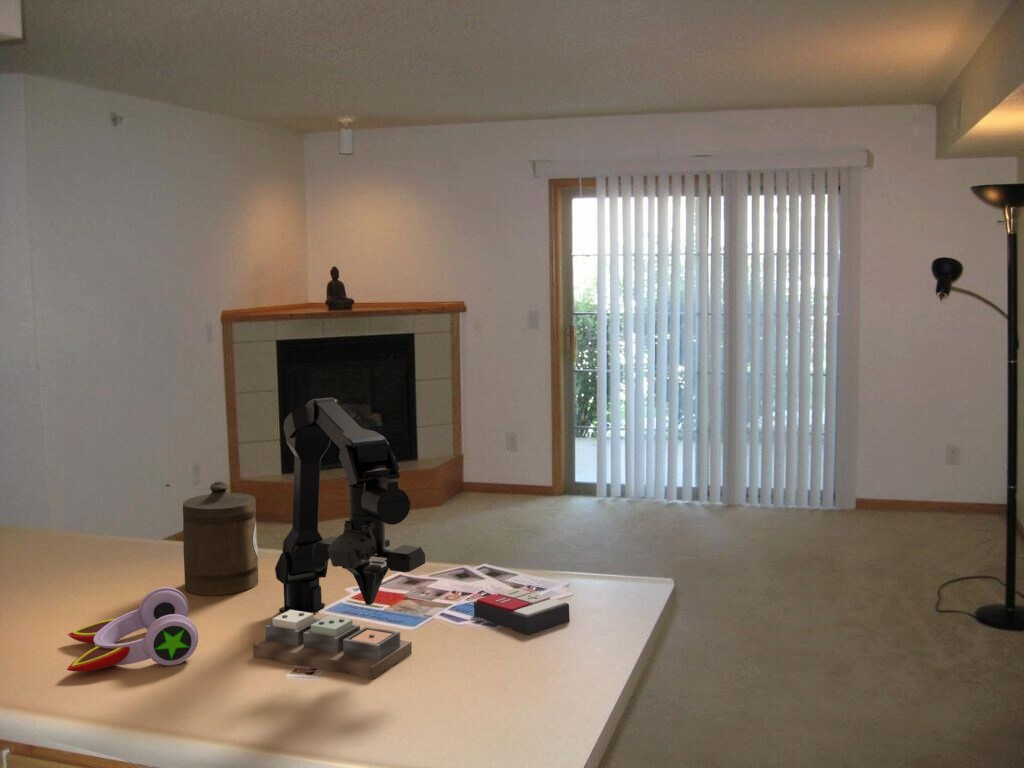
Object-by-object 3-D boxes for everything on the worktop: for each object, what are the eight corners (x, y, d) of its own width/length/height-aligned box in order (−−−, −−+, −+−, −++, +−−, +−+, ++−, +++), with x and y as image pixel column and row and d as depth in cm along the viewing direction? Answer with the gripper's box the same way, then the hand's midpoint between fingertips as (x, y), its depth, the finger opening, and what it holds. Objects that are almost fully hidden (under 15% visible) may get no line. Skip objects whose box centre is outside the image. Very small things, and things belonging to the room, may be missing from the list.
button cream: (272, 629, 171) (272, 617, 171) (290, 620, 176) (290, 608, 176) (296, 634, 169) (296, 621, 169) (314, 624, 174) (313, 612, 173)
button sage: (311, 636, 168) (310, 623, 168) (328, 626, 172) (328, 614, 172) (335, 640, 166) (335, 628, 166) (352, 631, 170) (352, 618, 170)
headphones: (201, 617, 166) (70, 620, 158) (196, 675, 167) (65, 680, 159) (189, 584, 184) (71, 585, 176) (184, 636, 185) (67, 640, 177)
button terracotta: (351, 651, 165) (350, 638, 164) (367, 640, 169) (367, 628, 169) (376, 655, 163) (376, 642, 162) (392, 645, 167) (392, 632, 167)
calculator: (515, 585, 196) (570, 599, 185) (516, 607, 196) (570, 622, 185) (472, 598, 188) (527, 613, 177) (473, 620, 189) (528, 637, 178)
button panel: (253, 656, 169) (252, 630, 169) (296, 633, 180) (295, 609, 180) (373, 679, 159) (372, 652, 159) (411, 653, 170) (411, 627, 169)
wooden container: (273, 581, 211) (269, 479, 209) (218, 600, 199) (214, 492, 196) (225, 570, 219) (221, 472, 217) (169, 589, 206) (164, 484, 204)
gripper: (290, 517, 160) (293, 611, 162) (389, 529, 152) (392, 627, 154) (330, 503, 170) (333, 591, 172) (426, 513, 162) (427, 606, 164)
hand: (369, 604), depth 165 cm, fingers closed
